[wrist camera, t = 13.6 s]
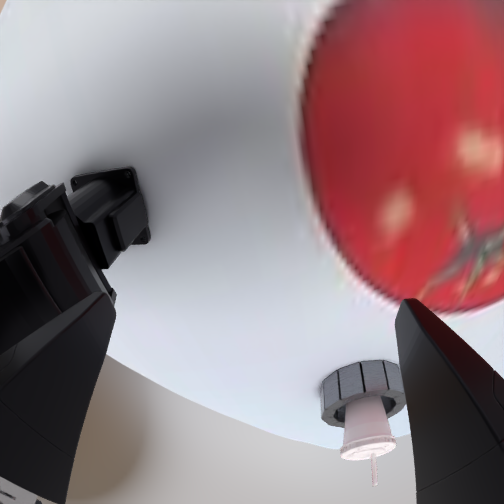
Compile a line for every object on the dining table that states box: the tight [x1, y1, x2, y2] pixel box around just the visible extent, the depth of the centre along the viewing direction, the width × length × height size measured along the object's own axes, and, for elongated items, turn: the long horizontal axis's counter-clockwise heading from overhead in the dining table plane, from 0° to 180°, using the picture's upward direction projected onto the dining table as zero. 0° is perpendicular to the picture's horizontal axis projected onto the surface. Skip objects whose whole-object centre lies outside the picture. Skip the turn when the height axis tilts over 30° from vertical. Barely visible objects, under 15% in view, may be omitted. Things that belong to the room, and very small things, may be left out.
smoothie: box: [340, 396, 396, 487], centre depth 25 cm, size 6×6×14 cm
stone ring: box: [320, 360, 406, 428], centre depth 30 cm, size 10×10×4 cm
